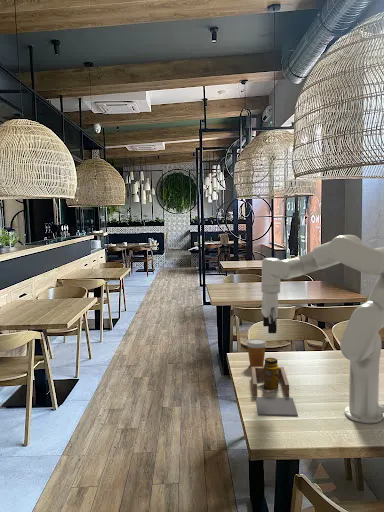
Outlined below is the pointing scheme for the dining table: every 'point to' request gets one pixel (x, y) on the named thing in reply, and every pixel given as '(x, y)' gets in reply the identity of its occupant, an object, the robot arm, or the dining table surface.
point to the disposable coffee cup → (256, 352)
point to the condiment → (270, 376)
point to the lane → (259, 374)
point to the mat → (276, 406)
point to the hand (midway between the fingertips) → (269, 329)
